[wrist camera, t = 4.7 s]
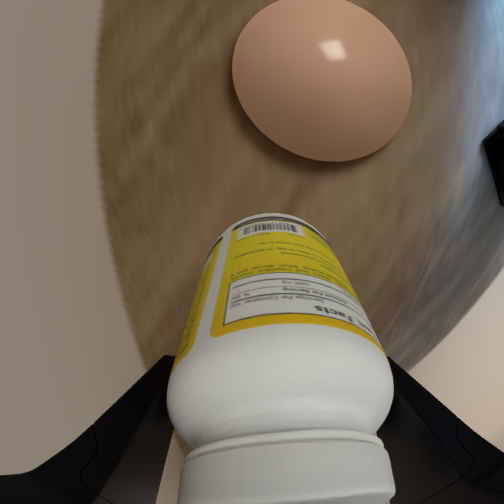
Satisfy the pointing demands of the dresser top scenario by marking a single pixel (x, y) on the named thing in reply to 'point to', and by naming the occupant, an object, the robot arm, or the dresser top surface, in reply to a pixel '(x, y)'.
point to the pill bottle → (279, 376)
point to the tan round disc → (322, 78)
